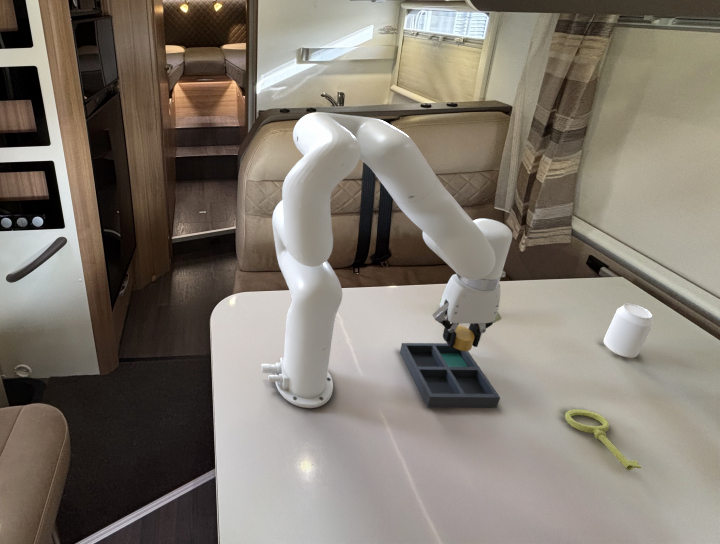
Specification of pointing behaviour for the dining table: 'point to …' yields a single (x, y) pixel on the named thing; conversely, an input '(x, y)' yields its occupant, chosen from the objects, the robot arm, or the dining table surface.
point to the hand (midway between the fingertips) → (459, 341)
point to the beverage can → (628, 330)
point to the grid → (448, 376)
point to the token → (463, 338)
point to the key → (599, 434)
